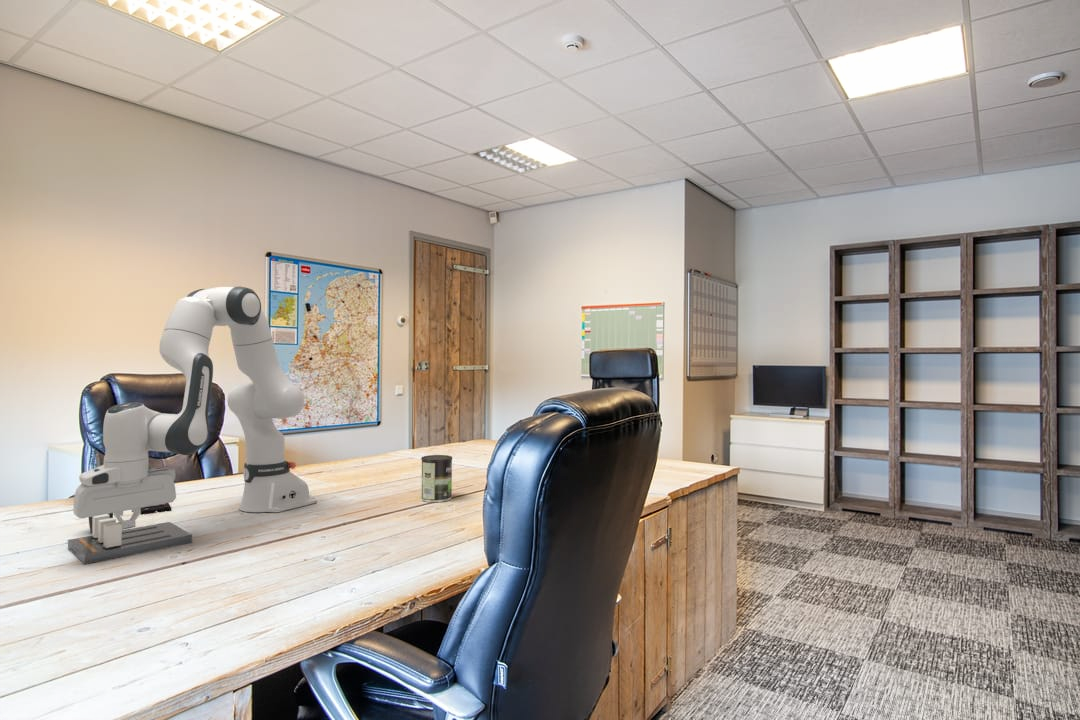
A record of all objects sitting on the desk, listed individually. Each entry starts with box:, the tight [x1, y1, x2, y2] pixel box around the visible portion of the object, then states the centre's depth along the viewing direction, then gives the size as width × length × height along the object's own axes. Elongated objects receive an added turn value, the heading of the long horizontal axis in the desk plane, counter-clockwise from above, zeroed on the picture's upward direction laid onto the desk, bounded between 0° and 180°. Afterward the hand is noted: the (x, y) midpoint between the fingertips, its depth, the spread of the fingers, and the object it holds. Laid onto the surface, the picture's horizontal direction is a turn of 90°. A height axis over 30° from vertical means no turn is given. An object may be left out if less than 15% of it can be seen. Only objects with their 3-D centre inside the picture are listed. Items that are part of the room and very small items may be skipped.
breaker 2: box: [98, 517, 117, 543], centre depth 143 cm, size 3×2×5 cm
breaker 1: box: [91, 514, 110, 538], centre depth 147 cm, size 3×2×5 cm
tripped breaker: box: [104, 521, 122, 548], centre depth 140 cm, size 3×2×5 cm
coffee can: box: [420, 454, 453, 503], centre depth 199 cm, size 10×10×14 cm
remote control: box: [140, 503, 172, 516], centre depth 190 cm, size 8×32×2 cm, turn 39°
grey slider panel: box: [67, 521, 193, 565], centre depth 147 cm, size 22×17×2 cm
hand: (127, 528), depth 142 cm, fingers closed
